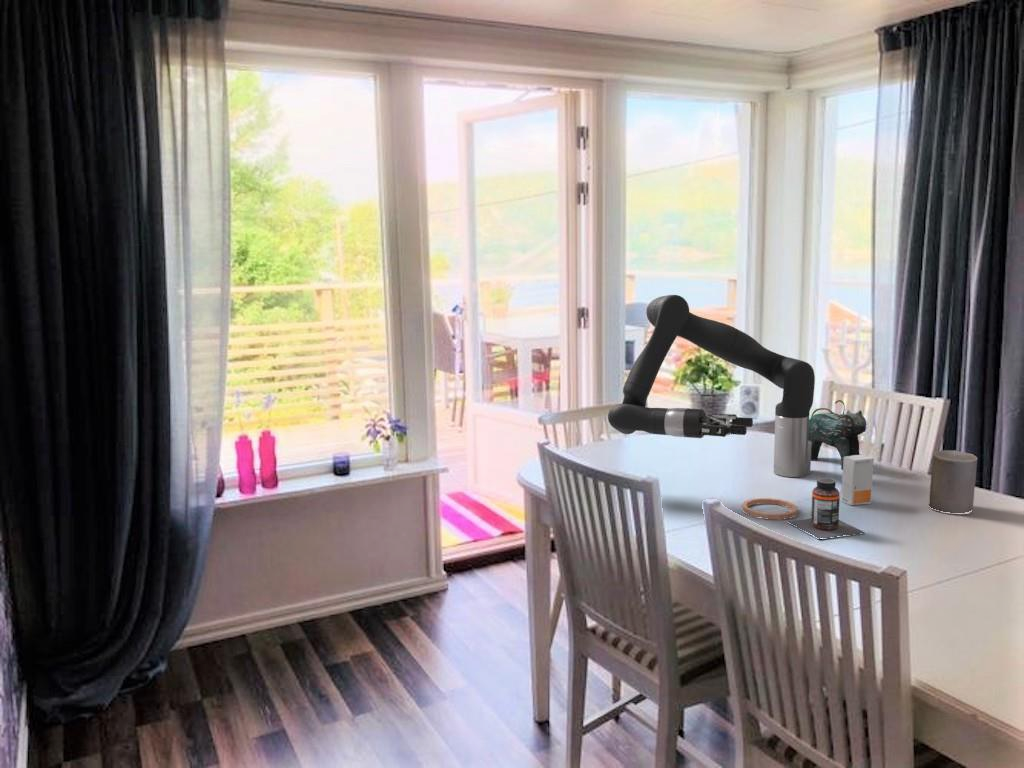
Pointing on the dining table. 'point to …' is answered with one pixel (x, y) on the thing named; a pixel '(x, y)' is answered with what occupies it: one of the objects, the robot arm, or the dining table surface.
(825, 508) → the supplement bottle
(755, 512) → the wooden ring
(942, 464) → the pillar candle
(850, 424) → the ceramic cat
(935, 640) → the dining table surface
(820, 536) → the mat
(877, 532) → the dining table surface
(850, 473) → the skincare box
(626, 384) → the robot arm
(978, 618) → the dining table surface
